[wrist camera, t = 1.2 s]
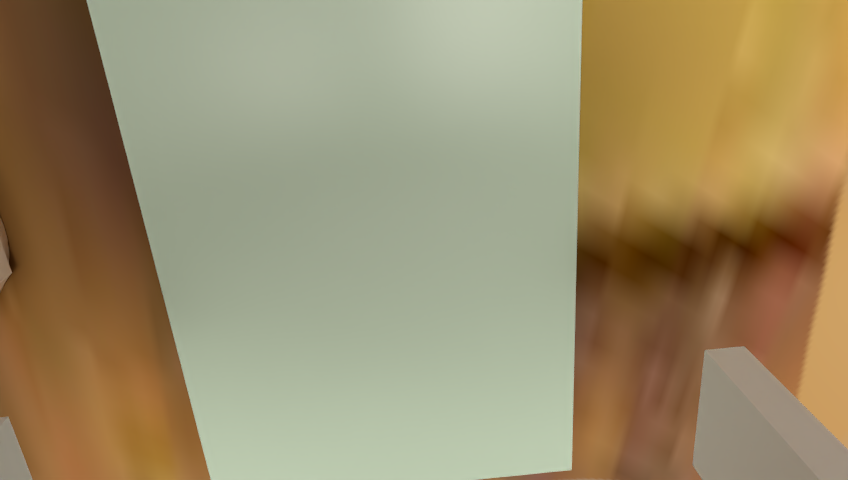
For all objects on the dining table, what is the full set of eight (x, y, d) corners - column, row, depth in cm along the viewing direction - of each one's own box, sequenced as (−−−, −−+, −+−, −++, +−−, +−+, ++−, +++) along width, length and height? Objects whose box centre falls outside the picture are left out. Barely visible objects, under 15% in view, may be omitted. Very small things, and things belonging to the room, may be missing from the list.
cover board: (111, -6, 17) (85, -4, 15) (565, -42, 17) (583, -43, 15) (228, 471, 23) (217, 505, 21) (559, 438, 23) (571, 469, 22)
